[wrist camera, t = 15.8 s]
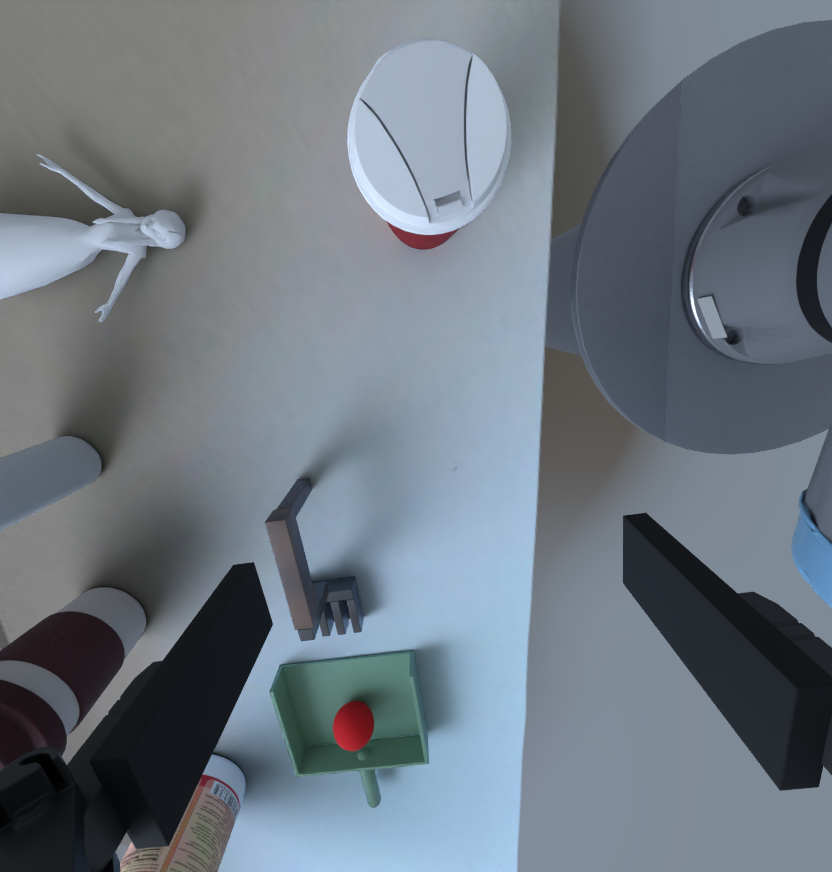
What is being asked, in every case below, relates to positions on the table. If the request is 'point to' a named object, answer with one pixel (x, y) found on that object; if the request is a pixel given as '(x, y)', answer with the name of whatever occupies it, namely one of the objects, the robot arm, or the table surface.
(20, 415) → the table surface
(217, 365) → the table surface
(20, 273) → the woman figurine
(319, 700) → the green dustpan
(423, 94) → the paper cup
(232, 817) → the fruit juice
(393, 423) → the table surface
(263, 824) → the table surface
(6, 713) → the coffee cup
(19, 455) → the beverage can
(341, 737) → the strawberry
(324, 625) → the fork
